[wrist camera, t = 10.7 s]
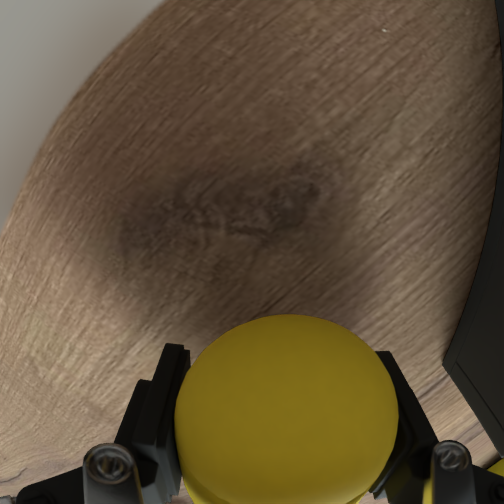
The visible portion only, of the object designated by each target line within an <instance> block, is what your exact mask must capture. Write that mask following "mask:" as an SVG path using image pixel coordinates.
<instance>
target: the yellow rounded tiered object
mask: <svg viewBox="0 0 504 504" xmlns="http://www.w3.org/2000/svg"><path fill="white" fill-rule="evenodd" d="M398 418H399V415H398V402H397V398H396V393H395V388H394V385H393V383H392V380H391V377H390V375H389V373H388V371H387V370H386V368H385V366H384V365H383V363H382V361H381V360H380V358H379V357H378V355H377V354H376V353H375V352H374V351H373V350H372V349H371V348H370V347H369V346H368V345H367V344H366V343H365V342H364V341H363V340H361V339H360V338H359V337H358V336H356V335H355V334H354V333H352V332H351V331H350V330H348V329H346V328H344V327H342V326H340V325H338V324H336V323H333V322H331V321H328V320H324V319H321V318H317V317H312V316H307V315H296V314H280V315H271V316H266V317H262V318H258V319H255V320H252V321H250V322H247V323H244V324H241V325H239V326H236V327H234V328H233V329H231V330H229V331H227V332H226V333H224V334H223V335H222V336H220V337H219V338H218V339H216V340H215V341H214V342H212V343H211V344H210V345H209V346H208V347H207V348H205V349H204V350H203V352H202V353H201V354H200V356H199V357H198V358H197V360H196V361H195V362H194V364H193V365H192V366H191V368H190V369H189V370H188V372H187V373H186V376H185V378H184V381H183V383H182V385H181V388H180V391H179V394H178V397H177V399H176V406H175V415H174V432H175V441H176V447H177V452H178V458H179V463H180V468H181V473H182V477H183V481H184V485H185V487H186V489H187V491H188V494H189V495H190V497H191V499H192V501H193V503H194V504H358V502H359V501H360V500H361V499H362V497H363V496H364V495H365V494H366V492H367V491H368V490H369V489H370V487H371V486H372V485H373V483H374V482H375V481H376V479H377V478H378V477H379V475H380V473H381V472H382V470H383V468H384V467H385V465H386V462H387V460H388V458H389V456H390V454H391V452H392V450H393V447H394V443H395V439H396V434H397V427H398Z"/></svg>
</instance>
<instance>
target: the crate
mask: <svg viewBox="0 0 504 504" xmlns="http://www.w3.org/2000/svg"><path fill="white" fill-rule="evenodd" d="M495 3H496V9H497V15H498V22H499V30H500V39H501V50H502V65H503V124H502V139H501V151H500V160H499V169H498V176H497V183H496V190H495V196H494V201H493V207H492V212H491V217H490V222H489V226H488V231H487V235H486V239H485V243H484V247H483V251H482V255H481V259H480V262H479V266H478V269H477V273H476V276H475V279H474V283H473V286H472V289H471V292H470V295H469V298H468V301H467V304H466V306H465V309H464V312H463V315H462V317H461V320H460V323H459V325H458V328H457V330H456V333H455V335H454V338H453V340H452V343H451V345H450V347H449V350H448V352H447V354H446V356H445V359H444V361H443V363H442V366H443V367H444V369H445V370H446V371H447V373H448V374H449V375H450V377H451V378H452V380H453V381H454V383H455V384H456V386H457V387H458V389H459V390H460V392H461V393H462V395H463V396H464V398H465V399H466V401H467V402H468V404H469V406H470V407H471V409H472V410H473V412H474V413H475V415H476V417H477V418H478V420H479V421H480V423H481V425H482V426H483V428H484V429H485V431H486V433H487V434H488V436H489V438H490V439H491V441H492V443H493V444H494V446H495V448H496V450H497V451H498V453H499V455H500V457H501V458H503V457H504V0H495Z"/></svg>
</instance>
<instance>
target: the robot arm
mask: <svg viewBox="0 0 504 504" xmlns="http://www.w3.org/2000/svg"><path fill="white" fill-rule="evenodd" d="M374 352H375V353H376V354H377V355H378V357H379V358H380V360H381V361H382V363H383V365H384V366H385V368H386V370H387V371H388V373H389V375H390V377H391V380H392V383H393V385H394V388H395V393H396V398H397V402H398V415H399V418H398V427H397V434H396V439H395V443H394V447H393V450H392V452H391V454H390V456H389V458H388V460H387V462H386V465H385V467H384V468H383V470H382V472H381V473H380V475H379V477H378V478H377V479H376V481H375V482H374V483H373V485H372V486H371V487H370V489H369V490H368V491H369V492H370V493H373V495H374V499H375V500H376V499H381V498H386V497H387V499H388V503H390V504H504V476H501V475H498V474H496V473H493V472H490V471H488V470H485V469H483V468H480V467H478V466H475V465H473V464H472V459H471V455H470V452H469V451H468V449H467V448H466V447H465V446H464V445H463V444H461V443H459V442H457V441H453V440H444V441H442V442H439V441H438V439H437V437H436V435H435V433H434V431H433V429H432V427H431V425H430V423H429V421H428V419H427V417H426V415H425V413H424V411H423V409H422V407H421V405H420V404H419V402H418V400H417V398H416V396H415V394H414V392H413V390H412V389H411V388H410V386H409V385H408V383H407V381H406V379H405V377H404V375H403V374H402V372H401V370H400V368H399V366H398V365H397V363H396V361H395V359H394V358H393V356H392V354H391V353H390V351H374ZM190 368H191V363H190V350H185V349H184V345H180V344H171V343H166V344H165V346H164V349H163V352H162V354H161V357H160V360H159V362H158V365H157V368H156V371H155V373H154V376H153V379H152V381H149V380H143V379H140V380H139V381H138V382H137V384H136V387H135V389H134V392H133V394H132V397H131V399H130V402H129V404H128V407H127V410H126V412H125V415H124V417H123V420H122V422H121V425H120V428H119V430H118V433H117V436H116V438H115V441H114V443H104V444H99V445H97V446H94V447H92V448H91V449H90V450H89V451H88V452H87V453H86V455H85V457H84V460H83V466H82V467H79V468H76V469H74V470H71V471H69V472H66V473H63V474H60V475H58V476H55V477H52V478H49V479H46V480H43V481H40V482H37V483H34V484H31V485H28V486H26V487H24V488H23V489H22V490H21V491H20V492H19V493H18V495H17V497H13V498H12V497H11V496H10V495H7V496H3V497H0V504H165V502H170V503H171V499H172V495H177V496H178V494H179V489H180V483H181V477H182V473H181V468H180V463H179V458H178V452H177V447H176V441H175V432H174V415H175V406H176V399H177V397H178V394H179V391H180V388H181V385H182V383H183V381H184V378H185V376H186V373H187V372H188V370H189V369H190Z"/></svg>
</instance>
